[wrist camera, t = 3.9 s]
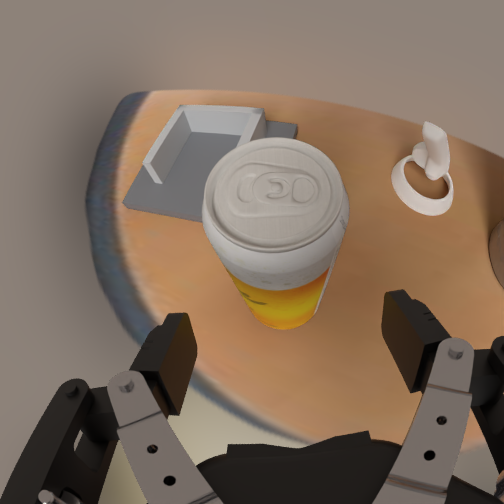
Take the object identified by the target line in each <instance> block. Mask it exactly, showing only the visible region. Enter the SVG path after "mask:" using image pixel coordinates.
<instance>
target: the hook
mask: <svg viewBox="0 0 504 504" xmlns="http://www.w3.org/2000/svg"><path fill="white" fill-rule="evenodd" d="M422 136H423V139H424V142H420V143H418V144H416V145H415V146H414V148H413V151H412V155H409V156H407V157H405V158H403V159H401V160H400V161H399V162H398V163H397V164H396V165H395V166H394V168H393V170H392V174H391V180H392V185H393V187H394V190H395V192H396V193H397V195H398V196H399V198H400V199H401V200H402V201H403V202H404V203H405V204H406V205H407V206H409V207H410V208H412V209H413V210H415V211H417V212H419V213H421V214H425V215H431V216H435V215H440V214H443V213H444V212H446V211H447V210H448V209H449V207H450V206H451V203H452V200H453V183H452V179H451V177H450V175H449V173H448V170H449V164H450V153H449V146H448V139H447V134H446V132H445V131H444V130H442V129H441V128H440V127H438V126H436V125H434V124H432V123H430V122H424V124H423V128H422ZM408 161H415V162H416V163H417V164H418V165H419V166H420V167H422V168H423V169H425V172H426V176H427V177H428V178H429V179H431V180H437V179H438V178H440V177H441V176H442V177H443V178H444V180H445V181H446V183H447V185H448V188H449V193H448V194H447V195H446V196H445V197H444V198H441V199H430V198H426V197H424V196H422V195H420V194H419V193H417V192H416V191H415V190H414V189H413V188H412V187H411V186H410V185H409V183H408V182H407V180H406V178H405V175H404V165H405V163H406V162H408Z"/></svg>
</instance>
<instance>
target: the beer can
mask: <svg viewBox="0 0 504 504" xmlns="http://www.w3.org/2000/svg"><path fill="white" fill-rule="evenodd" d="M349 209H350V208H349V199H348V195H347V192H346V189H345V187H344V185H343V183H342V179H341V176H340V174H339V171H338V170H337V168H336V166H335V165H334V163H333V162H332V161H331V160H330V159H329V157H328V156H326V155H325V154H324V153H323V152H322V151H320V150H319V149H317V148H316V147H314V146H312V145H310V144H308V143H305V142H302V141H299V140H295V139H291V138H283V137H271V138H262V139H257V140H253V141H250V142H247V143H245V144H242V145H240V146H238V147H236V148H234V149H233V150H231V151H230V152H228V153H227V154H226V155H225V156H223V157H222V158H221V159H220V160H219V161H218V163H217V164H216V165H215V166H214V168H213V169H212V171H211V172H210V174H209V176H208V179H207V182H206V185H205V190H204V199H203V204H202V222H203V227H204V230H205V232H206V235H207V237H208V239H209V241H210V242H211V244H212V246H213V248H214V249H215V251H216V253H217V255H218V256H219V258H220V260H221V261H222V263H223V265H224V267H225V268H226V270H227V272H228V273H229V275H230V277H231V278H232V280H233V282H234V283H235V285H236V287H237V288H238V290H239V292H240V293H241V295H242V297H243V298H244V300H245V302H246V303H247V305H248V307H249V308H250V310H251V312H252V313H253V315H254V316H255V317H256V318H257V319H258V320H259V321H260V322H261V323H263V324H265V325H267V326H269V327H271V328H275V329H292V328H296V327H298V326H301V325H303V324H304V323H306V322H307V321H308V320H309V319H311V318H312V316H313V315H314V314H315V313H316V311H317V309H318V307H319V304H320V302H321V299H322V297H323V294H324V291H325V288H326V286H327V283H328V280H329V277H330V275H331V272H332V269H333V266H334V263H335V260H336V257H337V254H338V252H339V249H340V246H341V243H342V239H343V236H344V233H345V230H346V227H347V224H348V219H349Z"/></svg>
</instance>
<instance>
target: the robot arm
mask: <svg viewBox="0 0 504 504" xmlns="http://www.w3.org/2000/svg"><path fill="white" fill-rule="evenodd" d="M489 252H490V259H491V263H492V266H493V269H494V272H495V274H496V277H497V278H498V280H499V282H500V284H501V285H502V286H503V288H504V219H503V220H502V221H501V222H500V223H499V224H498V225H497V226H496V227H495V228H494V229H493V231H492V234H491V236H490V242H489ZM381 328H382V335H383V338H384V340H385V342H386V344H387V346H388V348H389V350H390V352H391V354H392V356H393V358H394V360H395V362H396V364H397V366H398V368H399V370H400V372H401V374H402V376H403V379H404V381H405V383H406V385H407V387H408V389H409V391H410V393H414V392H418V391H421V392H422V394H423V395H422V398H421V400H420V403H419V406H418V408H417V411H416V413H415V416H414V418H413V421H412V423H411V426H410V428H409V430H408V433H407V435H406V437H405V439H404V441H403V443H402V446H401V445H399V444H396V443H393V442H390V441H385V440H376V439H371V438H370V434H369V431H363V432H358V433H353V434H347V435H342V436H335V437H332V438H330V439H327V440H324V441H321V442H319V443H316V444H313V445H310V446H307V447H303V448H289V447H281V446H274V445H267V444H228V447H227V453H226V454H222V455H218V456H215V457H212V458H210V459H207V460H205V461H203V462H201V463H200V464H198V465H196V466H195V464H194V463H193V462H192V460H191V459H190V457H189V455H188V454H187V452H186V451H185V449H184V448H183V446H182V445H181V443H180V441H179V440H178V438H177V437H176V435H175V433H174V432H173V430H172V428H171V427H170V425H169V423H168V421H167V419H168V416H169V415H177V416H179V414H180V411H181V408H182V405H183V401H184V398H185V394H186V391H187V388H188V384H189V381H190V378H191V374H192V371H193V368H194V364H195V361H196V358H197V343H196V340H195V336H194V333H193V329H192V326H191V322H190V319H189V316H188V314H187V313H169V314H168V315H167V317H166V319H165V320H164V322H163V324H162V325H160V326H157V327H156V328H154V329H153V330H152V331H151V332H150V333H149V334H148V336H147V338H146V340H145V343H143V345H142V347H141V349H140V351H139V353H138V354H137V356H136V358H135V360H134V362H133V364H132V365H131V367H130V369H129V371H124V372H121V373H119V374H117V375H115V376H114V377H113V378H112V379H111V380H110V381H109V383H108V386H106V387H99V388H93V389H90V388H89V386H88V384H87V383H86V382H85V381H84V380H82V379H71V380H69V381H67V382H65V383H63V384H62V385H61V386H60V387H59V389H58V391H57V392H56V394H55V395H54V397H53V398H52V400H51V402H50V403H49V405H48V407H47V409H46V410H45V412H44V414H43V416H42V417H41V419H40V421H39V422H38V424H37V426H36V428H35V430H34V431H33V433H32V435H31V437H30V439H29V441H28V443H27V444H26V446H25V448H24V450H23V452H22V454H21V456H20V458H19V460H18V462H17V464H16V466H15V468H14V470H13V472H12V474H11V476H10V479H9V481H8V483H7V485H6V487H5V490H4V492H3V494H2V497H1V499H0V504H98V501H99V498H100V494H101V491H102V488H103V485H104V482H105V478H106V475H107V472H108V469H109V466H110V463H111V460H112V457H113V454H114V451H115V448H116V445H117V442H118V440H120V441H121V443H122V446H123V449H124V451H125V454H126V456H127V459H128V461H129V463H130V465H131V468H132V470H133V472H134V475H135V477H136V479H137V481H138V483H139V485H140V488H141V490H142V492H143V494H144V496H145V498H146V500H147V502H148V503H147V504H504V394H503V393H504V336H500V337H497V338H496V339H495V340H494V341H493V343H492V346H491V349H480V350H474V349H473V347H472V346H471V345H470V344H469V343H468V342H467V341H465V340H463V339H460V338H451V336H450V335H449V334H448V332H447V331H446V330H445V329H444V327H443V326H442V325H441V323H440V322H439V321H438V320H437V319H436V317H435V316H434V315H433V314H432V313H431V311H430V310H429V309H428V307H427V306H426V305H425V304H423V303H422V302H420V301H418V300H416V299H414V300H412V299H411V298H410V296H409V295H408V294H407V293H406V291H405V290H403V289H402V290H396V291H389V292H386V293H385V296H384V306H383V315H382V324H381ZM470 407H471V409H472V411H473V413H474V415H475V417H476V419H477V422H478V424H479V426H480V428H481V430H482V433H483V435H484V437H485V440H486V442H487V444H488V447H489V449H490V452H491V454H492V457H493V459H494V461H495V464H496V467H497V470H498V472H499V477H498V479H497V482H496V490H495V492H494V496H493V495H491V494H489V493H487V492H485V491H483V490H481V489H479V488H477V487H475V486H473V485H471V484H469V483H467V482H465V481H463V480H461V479H459V478H458V477H456V476H454V475H452V473H453V470H454V467H455V464H456V461H457V458H458V455H459V451H460V448H461V444H462V441H463V437H464V433H465V429H466V425H467V420H468V416H469V411H470ZM80 430H81V431H82V432H83V434H82V437H81V439H80V441H79V443H78V446H77V448H76V450H75V451H74V442H75V440H76V438H77V435H78V433H79V431H80Z"/></svg>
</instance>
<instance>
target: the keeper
mask: <svg viewBox="0 0 504 504" xmlns="http://www.w3.org/2000/svg"><path fill="white" fill-rule="evenodd" d="M296 135H297V124H291V123H283V122H275V121H266V119H265V112H264V108H252V107H238V106H217V105H179V107H178V108H177V110H176V111H175V113H174V114H173V115H172V117H171V118H170V120H169V121H168V123H167V124H166V126H165V127H164V129H163V130H162V132H161V133H160V135H159V136H158V138H157V139H156V141H155V143H154V144H153V146H152V147H151V149H150V151H149V152H148V154H147V155H146V157H145V159H144V160H143V162H142V163H143V166H142V168H141V169H140V171H139V173H138V175H137V176H136V178H135V180H134V182H133V184H132V185H131V187H130V189H129V191H128V193H127V194H126V196H125V198H124V200H123V202H122V203H123V204H124V205H125V206H126V207H127V208H129V209H134V210H140V211H145V212H150V213H155V214H161V215H166V216H171V217H176V218H181V219H186V220H192V221H197V222H202V204H203V199H204V190H205V185H206V182H207V179H208V176H209V174H210V172H211V171H212V169H213V168H214V166H215V165H216V164H217V163H218V161H219V160H220V159H221V158H222V157H223V156H225V155H226V154H227V153H228V152H230V151H231V150H233V149H234V148H236V147H238V146H240V145H242V144H245V143H247V142H250V141H253V140H257V139H262V138H271V137H283V138H291V139H295V138H296ZM202 223H203V222H202Z"/></svg>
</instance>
